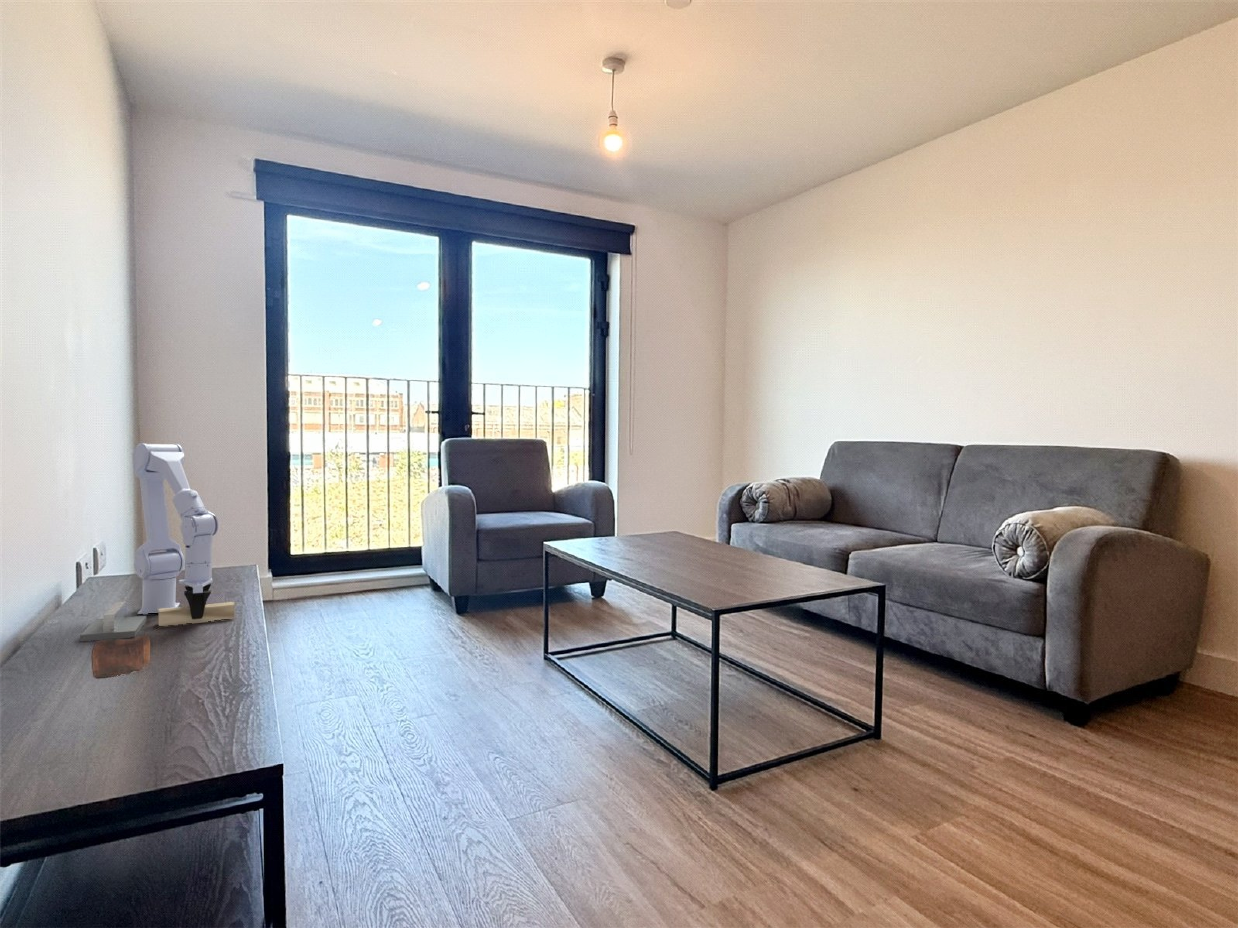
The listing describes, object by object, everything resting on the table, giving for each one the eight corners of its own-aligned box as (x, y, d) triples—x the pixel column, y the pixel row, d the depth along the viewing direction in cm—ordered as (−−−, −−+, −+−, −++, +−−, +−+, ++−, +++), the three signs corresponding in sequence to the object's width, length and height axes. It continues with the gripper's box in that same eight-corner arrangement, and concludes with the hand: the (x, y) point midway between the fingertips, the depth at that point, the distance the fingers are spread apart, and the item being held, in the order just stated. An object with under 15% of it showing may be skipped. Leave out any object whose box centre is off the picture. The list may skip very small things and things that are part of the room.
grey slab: (96, 625, 160) (96, 619, 160) (146, 621, 164) (146, 615, 164) (80, 641, 147) (80, 635, 147) (134, 637, 152) (135, 631, 152)
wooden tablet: (151, 667, 131) (87, 669, 126) (149, 678, 131) (85, 681, 125) (151, 633, 153) (96, 634, 147) (149, 643, 153) (94, 644, 147)
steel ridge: (116, 618, 161) (116, 601, 161) (126, 617, 162) (126, 601, 162) (103, 632, 150) (103, 615, 150) (113, 631, 151) (114, 614, 150)
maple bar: (158, 625, 163) (158, 608, 163) (232, 617, 173) (233, 601, 173) (158, 628, 161) (159, 611, 161) (234, 620, 170) (234, 604, 170)
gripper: (180, 558, 170) (179, 610, 171) (178, 568, 158) (177, 624, 158) (212, 556, 174) (211, 607, 174) (213, 566, 162) (211, 621, 162)
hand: (197, 615), depth 167 cm, fingers open, 6 cm apart
